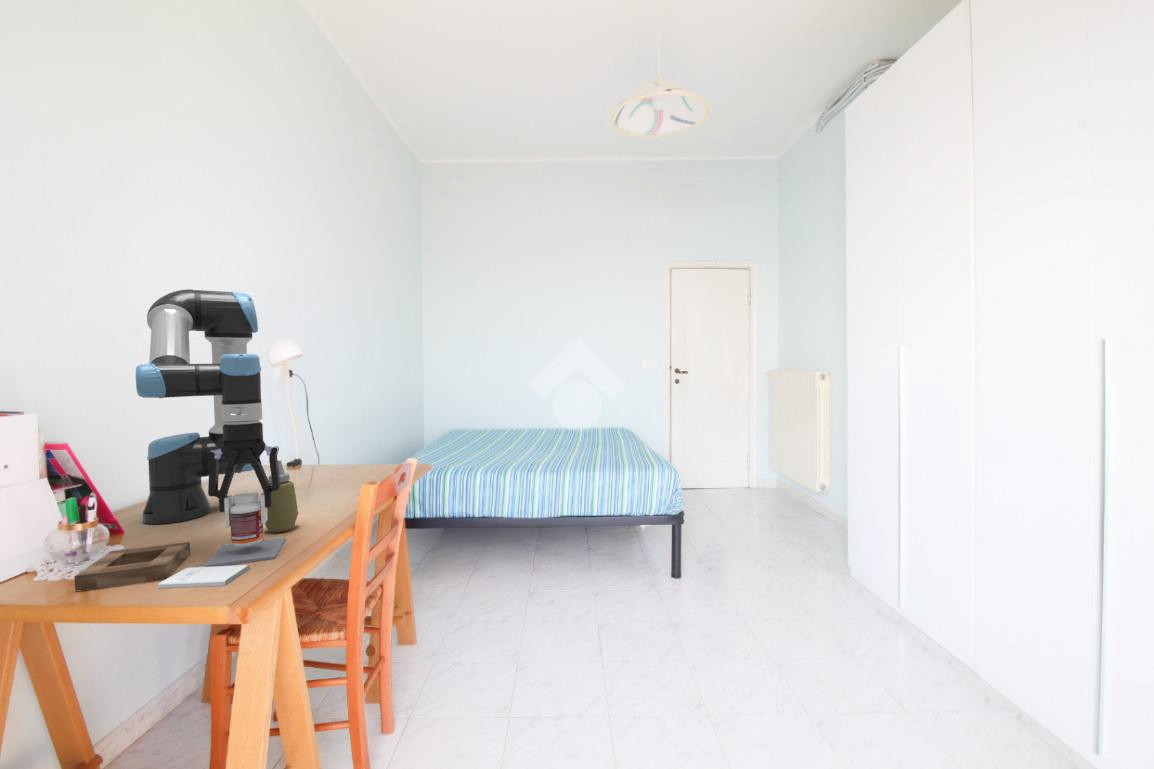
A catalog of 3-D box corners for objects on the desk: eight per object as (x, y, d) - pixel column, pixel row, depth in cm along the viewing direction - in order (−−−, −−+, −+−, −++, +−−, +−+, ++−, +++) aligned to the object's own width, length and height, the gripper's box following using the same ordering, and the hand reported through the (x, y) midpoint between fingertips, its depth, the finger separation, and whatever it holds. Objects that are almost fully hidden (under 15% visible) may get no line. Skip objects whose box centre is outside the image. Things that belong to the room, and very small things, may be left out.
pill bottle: (266, 542, 114) (264, 494, 113) (234, 549, 109) (232, 500, 109) (260, 536, 118) (258, 490, 118) (228, 543, 114) (226, 495, 113)
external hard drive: (225, 589, 97) (157, 591, 96) (250, 571, 105) (188, 573, 104) (224, 580, 97) (157, 583, 96) (249, 563, 105) (188, 566, 104)
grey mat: (222, 547, 118) (222, 545, 118) (285, 539, 122) (285, 537, 122) (204, 568, 105) (204, 565, 105) (275, 558, 110) (275, 555, 110)
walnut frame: (111, 564, 108) (111, 551, 108) (190, 554, 113) (189, 541, 113) (75, 591, 95) (74, 576, 95) (165, 579, 100) (165, 564, 100)
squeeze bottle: (306, 525, 133) (303, 458, 132) (280, 535, 125) (277, 464, 125) (281, 523, 135) (279, 457, 135) (255, 533, 127) (252, 463, 127)
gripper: (185, 426, 106) (190, 534, 107) (288, 421, 113) (292, 522, 114) (197, 423, 113) (201, 524, 114) (293, 418, 120) (297, 513, 121)
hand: (246, 523), depth 114 cm, fingers closed on pill bottle, 6 cm apart
